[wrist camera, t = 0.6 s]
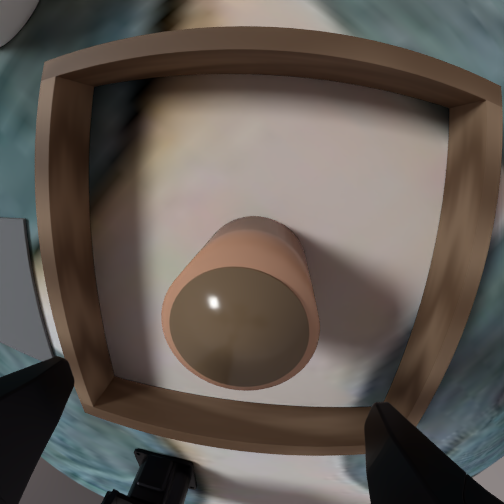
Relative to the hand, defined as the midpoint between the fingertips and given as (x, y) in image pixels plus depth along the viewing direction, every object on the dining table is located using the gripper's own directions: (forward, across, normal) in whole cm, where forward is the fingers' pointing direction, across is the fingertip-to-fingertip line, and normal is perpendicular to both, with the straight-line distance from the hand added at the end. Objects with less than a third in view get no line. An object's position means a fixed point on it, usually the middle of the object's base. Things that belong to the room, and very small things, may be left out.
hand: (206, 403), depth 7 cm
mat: (+11, +25, +5) cm, 27 cm away
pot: (+11, 0, 0) cm, 11 cm away
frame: (+11, 0, 0) cm, 11 cm away
